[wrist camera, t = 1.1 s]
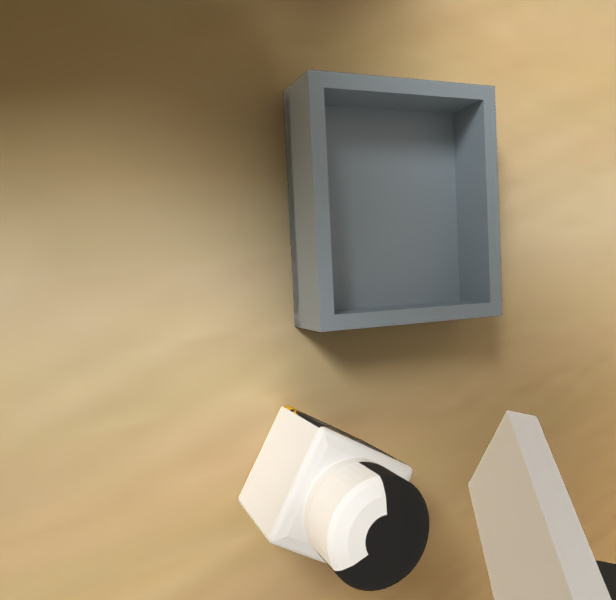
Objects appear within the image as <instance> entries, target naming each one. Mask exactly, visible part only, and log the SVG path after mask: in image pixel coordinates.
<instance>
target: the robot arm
mask: <svg viewBox="0 0 616 600" xmlns="http://www.w3.org/2000/svg"><path fill="white" fill-rule="evenodd" d="M468 487H469V492H470V496H471V500H472V505H473V509H474V514H475V518H476V522H477V527H478V531H479V535H480V540H481V544H482V549H483V553H484V557H485V562H486V566H487V571H488V575H489V579H490V584H491V588H492V592H493V597H494V600H616V564H612V563H607V562H601V561H596V560H595V558H594V556H593V553H592V551H591V548H590V546H589V543H588V541H587V538H586V536H585V534H584V531H583V529H582V526H581V524H580V521H579V519H578V516H577V514H576V511H575V509H574V507H573V504H572V502H571V499H570V497H569V494H568V492H567V489H566V487H565V485H564V482H563V480H562V477H561V475H560V472H559V470H558V467H557V465H556V462H555V460H554V458H553V455H552V453H551V450H550V448H549V445H548V443H547V440H546V438H545V436H544V433H543V431H542V428H541V426H540V423H539V421H538V418H537V416H533V415H528V414H523V413H519V412H514V411H509V410H507V411H506V413H505V415H504V417H503V419H502V421H501V423H500V425H499V426H498V428H497V430H496V432H495V434H494V436H493V438H492V440H491V442H490V444H489V446H488V448H487V449H486V451H485V453H484V455H483V457H482V459H481V461H480V463H479V465H478V467H477V469H476V470H475V472H474V474H473V476H472V478H471V480H470V482H469V484H468Z"/></svg>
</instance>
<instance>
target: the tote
mask: <svg viewBox="0 0 616 600" xmlns="http://www.w3.org/2000/svg"><path fill="white" fill-rule="evenodd" d="M283 95H284V115H285V135H286V155H287V175H288V195H289V215H290V235H291V255H292V274H293V294H294V314H295V327H298V328H303V329H308V330H313V331H318V332H327V331H338V330H349V329H360V328H371V327H382V326H393V325H404V324H415V323H426V322H437V321H448V320H459V319H470V318H481V317H492V316H502V288H501V257H500V227H499V197H498V167H497V137H496V106H495V86H488V85H477V84H465V83H454V82H443V81H431V80H420V79H409V78H397V77H386V76H375V75H363V74H352V73H341V72H330V71H318V70H307V71H306V72H305V73H304V74H303V75H301V76H300V77H299V78H298V79H297V80H296V81H295V82H294V83H293V84H292V85H291V86H289V87H288V88H287V89H286V90H285V91H284V92H283Z"/></svg>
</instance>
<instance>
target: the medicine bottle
mask: <svg viewBox="0 0 616 600" xmlns="http://www.w3.org/2000/svg"><path fill="white" fill-rule="evenodd" d="M412 472H413V471H412V468H411V467H410V466H408V465H407V464H405V463H403V462H401V461H399V460H397V459H396V458H394V457H392V456H390V455H388V454H387V453H385V452H383V451H381V450H379V449H377V448H376V447H374V446H372V445H370V444H368V443H366V442H365V441H363V440H361V439H359V438H356V437H354V436H352V435H350V434H348V433H346V432H343V431H341V430H339V429H337V428H335V427H333V426H331V425H328V424H326V423H324V422H322V421H320V420H318V419H315V418H313V417H311V416H309V415H307V414H305V413H302V412H300V411H298V410H296V409H294V408H292V407H290V406H287V405H284V406H282V407H281V408H280V410H279V413H278V415H277V417H276V419H275V421H274V423H273V425H272V427H271V429H270V432H269V434H268V436H267V438H266V440H265V442H264V444H263V446H262V449H261V451H260V453H259V455H258V457H257V459H256V461H255V463H254V466H253V468H252V470H251V472H250V474H249V476H248V478H247V480H246V483H245V485H244V487H243V489H242V491H241V493H240V495H239V503H240V504H241V505H242V507H243V508H244V509H245V511H246V512H247V513H248V515H249V516H250V517H251V519H252V520H253V521H254V523H255V524H256V525H257V527H258V528H259V529H260V531H261V532H262V533H263V535H264V536H265V537H266V539H267V540H268V541H269V542H270V543H271V544H273V545H276V546H279V547H282V548H284V549H287V550H290V551H293V552H295V553H298V554H301V555H304V556H307V557H309V558H312V559H315V560H318V561H320V562H323V563H326V564H328V565H329V566H330V568H331V569H332V570H333V571H334V572H335V573H336V574H337V575H338V576H339V577H340V578H341V579H342V580H343V581H344V582H345V583H346V584H348V585H349V586H351V587H354V588H356V589H360V590H365V591H375V590H381V589H385V588H387V587H390V586H392V585H394V584H395V583H397V582H399V581H400V580H402V579H403V578H404V577H406V576H407V575H408V574H409V573H410V572H411V571H412V569H413V568H414V567H415V566H416V564H417V563H418V561H419V560H420V558H421V556H422V554H423V552H424V549H425V546H426V543H427V539H428V533H429V514H428V509H427V506H426V503H425V500H424V499H423V497H422V495H421V493H420V492H419V491H418V489H417V488H416V487H415V486H414V485H413V484H411V483H410V482H409V480H410V478H411V475H412Z"/></svg>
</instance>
